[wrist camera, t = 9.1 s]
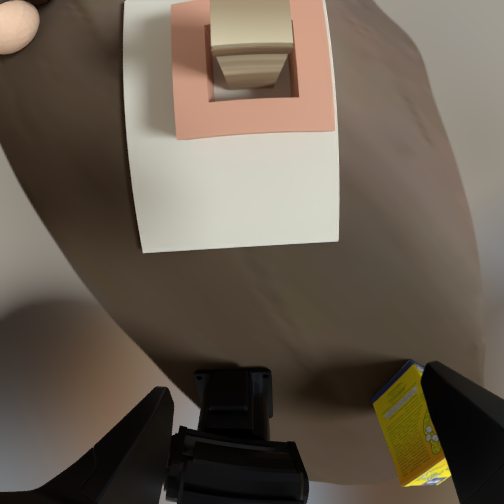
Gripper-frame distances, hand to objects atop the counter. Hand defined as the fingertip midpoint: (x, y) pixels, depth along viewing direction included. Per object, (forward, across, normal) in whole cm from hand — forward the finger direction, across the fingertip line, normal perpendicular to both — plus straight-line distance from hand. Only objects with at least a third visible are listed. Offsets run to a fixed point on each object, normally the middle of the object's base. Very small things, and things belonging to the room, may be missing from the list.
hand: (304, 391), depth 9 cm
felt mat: (+12, +2, -10) cm, 16 cm away
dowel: (+12, +1, -12) cm, 17 cm away
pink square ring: (+12, +1, -12) cm, 17 cm away
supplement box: (+12, -13, +15) cm, 23 cm away
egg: (+12, +18, -20) cm, 30 cm away
